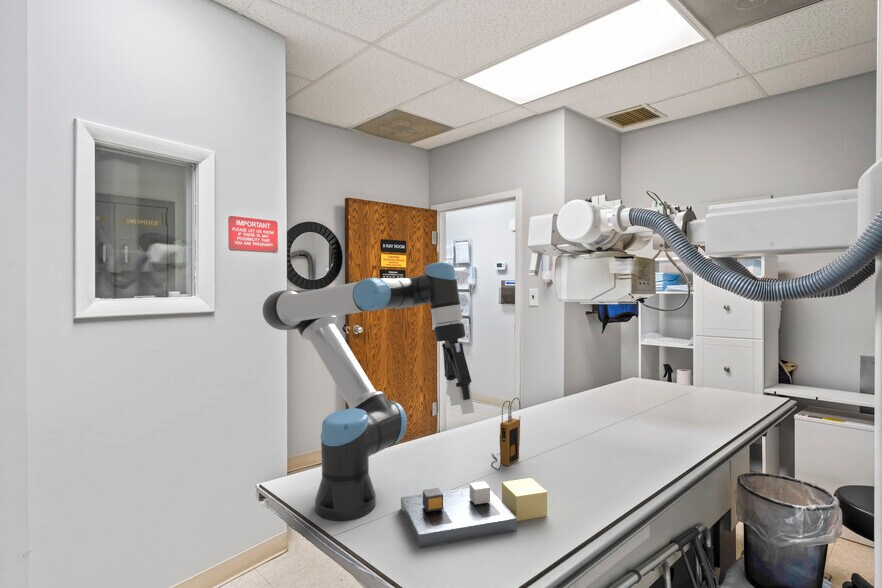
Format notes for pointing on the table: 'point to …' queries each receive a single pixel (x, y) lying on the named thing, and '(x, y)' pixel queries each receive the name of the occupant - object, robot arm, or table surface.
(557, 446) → the table surface
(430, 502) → the block
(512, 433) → the multimeter
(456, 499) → the breaker panel
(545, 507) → the cap
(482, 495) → the block
